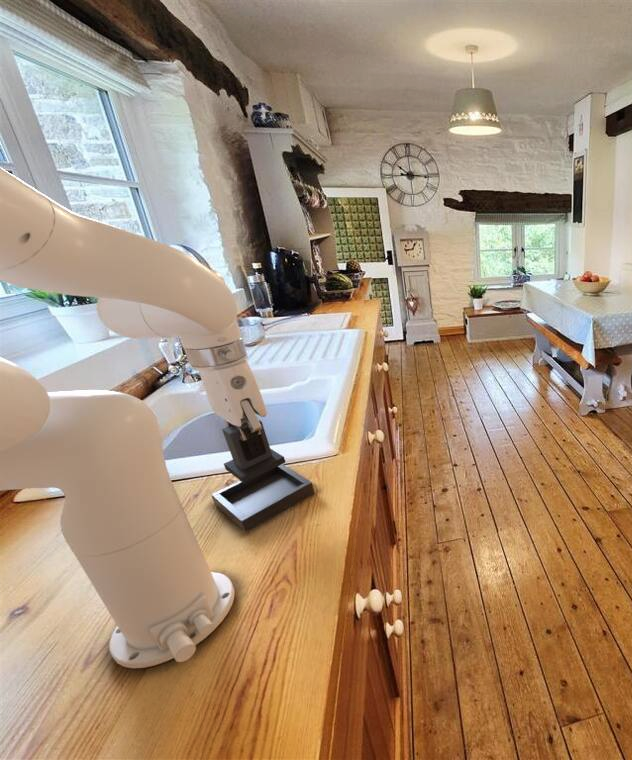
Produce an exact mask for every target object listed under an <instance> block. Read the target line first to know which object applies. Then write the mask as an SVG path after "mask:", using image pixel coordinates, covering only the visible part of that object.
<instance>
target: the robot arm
mask: <svg viewBox="0 0 632 760" xmlns="http://www.w3.org/2000/svg"><path fill="white" fill-rule="evenodd" d="M0 281H1V282H3V283H6V284H10V285H12V286H15V287H19V288H24V289H27V290H35V291H40V292H47V293H52V294H59V295H65V296H72V297H73V296H75V297H86V298H98V299H97V301H96V302H97V303H96V312H97V313H96V314H97V316H98V318H99V320H100V322H101V323H102V324H103V325H104V327H106V328H107V329H108V330H110V331H111V332H113V333H115V334H116V335H118V336H120V337H121V336H122V337H124V338H128V339H129V338H130V339H137V340H140V339H141V340H148V339H169V338H176V337H177V338H178V337H179V339H180V342H181V345H182V347H183V350H184V353H185V356H186V358H187V361H188V364H189V366H190V368H191V370H193V371H198V373H199V376H200V379H201V382H202V386H203V389H204V391H205V394H206V395H205V396H206V397H207V400H208V402H209V405H210V407H211V409H212V411H213V413H215V415H216V416H218V417H219V418H221V419H223V421H224V424H225V428H226V427H229V426H231V425H235V426H236V427H237V430H238V432H239V435H240V438H241V440H239V442H240V445H241V448H242V451H243V453H244V456H245V459H246V460H247V461H251V460H253V459H255V458H257V457H259V456H261V455H263V454H265V453H266V452H267V451H266V448H265V445H264V442H263V439H262V436H261V431H260V429H262V426H261V424H260V422H259V420H260V419H259V418H258V417H257V415H258V416H260V417H261V418H262V417H263V418H264V417H267V416H268V409H267V407H266V404H265V401H264V399H263V396H262V393H261V390H260V388H259V385H258V383H257V381H256V377H255V375H254V373H253V371H252V369H251V367H250V365H249V363H248V361H247V359H248V358H249V356H248V352H247V349H246V345H245V342H244V339H243V337H242V336H243V335H242V332H241V330H240V329H241V328H240V326H239V323H238V320H237V317H238V304H237V301H236V298H235V296H234V294H233V292H232V290H231V289H230V288H229V286H228V285H227V284H226V281H225V278H224V276H223V275H222V274H221V273H220V272H219V271H217V270H214V269H210V268H208V267H207V266H205V265H204V264H203V263H201V262H199V261H198V260H197V259H195V258H194V257H192V256H190V255H189V254H187V253H186V252H183V251H182V250H180V249H177V248H175V247H173V246H170V245H169V244H166V243H163V242H160V241H158V240H155V239H152V238H149V237H146V236H143V235H140V234H137V233H134V232H132V231H129V230H126V229H124V228H121V227H117V226H116V225H115V226H114V225H112V224H109V223H107V222H106V223H105V222H102V221H100V220H97V219H93V218H90V217H87V216H84V215H80V214H78V213H76V212H74V211H71V210H70V209H68V208H66V207H64V206H63V205H61V204H59V203H58V202H56V201H55V200H53V199H51V198H50V197H49V196H47V195H46V194H45V193H42V192H41V191H39V190H37V189H35V188H34V187H33V186H31V185H29V184H28V183H26V182H25V181H23V180H21V179H20V178H19V177H17V176H15V175H14V174H12V173H11V172H9V171H7V170H6V169H4V168H2V167H1V166H0ZM247 424H248V425H249V426H248V427H246V428H245V431H244V429H243V427H242V426H245V425H247ZM172 481H173V480H172V479H171V477H170V474H169V470H168V467H167V462H166V459H165V453H164V447H163V441H162V431H161V426H160V423H159V419H158V417H157V415H156V413H155V411H154V410H153V409H152V407H151V406H149V404H148V403H146V402H145V401H143V400H141V399H140V398H138V397H136V396H133V395H131V394H128V393H124V392H120V391H114V390H113V391H112V390H101V389H86V390H68V391H67V390H66V391H52V392H51V391H49V392H48V391H47V389H46V387H45V386H44V385H43V383H42V382H41V381H40V380H39V379H38V378H37V377H36V376H35V375H34V374H32V373H31V372H29V371H28V370H27V369H25V368H24V367H22V366H20V365H19V364H17V363H15V362H13V361H10V360H8V359H5V358H3V357H2V356H0V491H13V490H29V489H58V490H60V491H61V492H62V493H63V495H64V503H63V508H62V511H61V514H60V523H59V525H60V531H61V533H62V537H63V539H64V540H65V543H67V545H68V547H69V549H70V551H71V552H72V553H73V555H74V557H75V558H76V560H77V561H78V563H79V565H80V566H81V568H82V570H83V571H84V573H85V575H86V576H87V578H88V580H89V582H90V583H91V585H92V586H93V588H94V589H95V592H96V593H97V595H98V596H99V598H100V599H101V602H102V603H103V605H104V606H105V608H106V609H107V612H108V614H109V615H110V616H111V618H112V620H113V621H114V623H115V625H116V626H115V628H114V630H113V632H112V633H111V636H110V639H109V643H108V647H109V653H110V655H111V657H112V658H113V660H114V661H115V663H116V664H118V665H119V666H121V667H123V668H127V669H144V668H149V667H153V666H157V665H160V664H163V663H166V662H169V661H170V660H173V659H174V660H175V662H176V663H183V662H186V661H188V660H189V659H191V658H192V657H193V656H194V654H195V652H196V651H197V645H199V643H201V642H202V641H204V640H205V639H206V638H207V637H209V635H210V634H212V633H213V632H214V631H215V630H216V629H217V628H218V626H219V625H220V624H221V623H222V622H223V621H224V619H225V618H226V617H227V615H228V614H229V612H230V610H231V608H232V606H233V604H234V600H235V588H234V585H233V582H232V581H231V579H230V578H229V577H228V576H227V575H226V574H223V573H220V572H216V571H211V569H210V567H209V564H208V563H207V560H206V558H205V556H204V553H203V550H202V548H201V546H200V544H199V541H198V540H197V537H196V535H195V533H194V530H193V528H192V525H191V523H190V521H189V518H188V516H187V514H186V512H185V510H184V507H183V505H182V503H181V501H180V499H179V496H178V494H177V492H176V489H175V486H174V485H173V482H172Z"/></svg>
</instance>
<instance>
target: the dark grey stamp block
mask: <svg viewBox="0 0 632 760" xmlns="http://www.w3.org/2000/svg"><path fill="white" fill-rule="evenodd" d="M258 420H259V422H260V424H261V426H262V429H260V431H261V436H262V439H263V442H264V445H265V448H266V451H267V452H266V453H265V454H263V455H261V456H259V457H257V458H255V459H253V460H251V461H247V460H246V459H245V456H244V453H243V451H242V448H241V445H240V442H239V440H241V438H240V435H239V432H238V430H237V427H236V426H235V425H231V426H229V427H226V426H225V427H224V428H222V429H221V430H222V434H223V436H224V438H225V442H226V444H227V447H228V450H229V452H230V455H231V458H232V459H231V460H229V461H226V462H224V463H223V466H224V470H226V471H227V472H228V473H229V474H231V475H232V476H233V477H235V478H236V479H237V480H238V481H242V482H243V483H245V482H247V481H249V480H252V479H254V478H256V477H258V476H260V475H262V474H264V473H266V472H268V471H270V470H272V469H274V468H276V467H278V466H280V465H282V464H283V465H285V463H286V459H285V456H283V455H282V454H280V453H279V452H277V451H275V450H274V449H272V448H271V446H270V443H269V441H268V437H267V433H266V431H265V428H264V424H263V421H261V420H260V419H258ZM248 426H249V425H248V424H247V425H245V426H242V427H243V429H244V431H245V428H246V427H248Z"/></svg>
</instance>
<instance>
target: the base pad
mask: <svg viewBox="0 0 632 760" xmlns="http://www.w3.org/2000/svg"><path fill="white" fill-rule="evenodd" d="M313 494H315V490H314V485H313V482H312V481H311V480H309V479H307V478H305V477H304V476H303V475H301V474H299V473H297V472H296V471H295V470H293V469H291V468H290V467H288V466H287V465H285V464H282V465H280V466H278V467H276V468H274V469H272V470H270V471H268V472H266V473H264V474H262V475H260V476H258V477H256V478H254V479H252V480H249V481H247V482H245V483H243V482H242V481H240V480H238V481H235V482H234V483H232V484H230V485H228V486H226V487H223V488H222V489H220V490H218V491H216V492H213V493H211V494H210V495H211V498H212V501H213V504H214V505H215V506H216V507H217V508H218V509H219V510H220V511H221V512H222V513H223V514H225V515H226V516H227V518H229V519H230V520H231V521H232V522H234V524H236V525H237V526H238V527H239V528H240V529H241V530H242V531H244V533H247V532H249V531H251V530H252V529H254V528H256V527H257V526H259V525H261V524H263V523H264V522H266V521H268V520H269V519H271V518H274V516H275V517H276V516H277V515H279V514H280V513H282V512H283V511H286V510H287V509H289V508H291V507H292V506H294V505H295V504H297V503H299V502H301V501H303V500H304V499H306V498H308V497H309V496H311V495H313Z"/></svg>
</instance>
